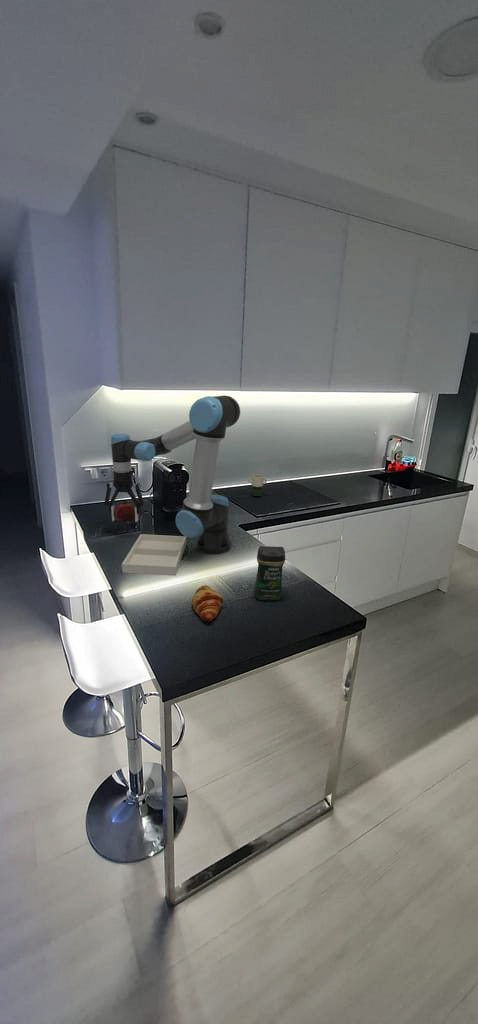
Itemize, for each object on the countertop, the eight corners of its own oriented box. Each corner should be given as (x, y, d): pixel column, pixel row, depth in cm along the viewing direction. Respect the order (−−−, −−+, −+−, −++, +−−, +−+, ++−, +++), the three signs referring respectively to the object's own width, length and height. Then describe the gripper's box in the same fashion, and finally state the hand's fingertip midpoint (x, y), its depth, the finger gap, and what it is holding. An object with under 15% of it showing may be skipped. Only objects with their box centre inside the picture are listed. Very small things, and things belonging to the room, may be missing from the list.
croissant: (196, 600, 150) (186, 582, 147) (222, 587, 150) (211, 569, 147) (200, 635, 130) (188, 615, 127) (229, 620, 130) (218, 600, 127)
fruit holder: (186, 543, 186) (186, 536, 185) (175, 575, 159) (175, 566, 158) (140, 541, 186) (140, 534, 185) (122, 572, 159) (121, 564, 158)
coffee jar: (254, 602, 144) (258, 552, 138) (253, 590, 151) (256, 542, 145) (283, 602, 145) (287, 552, 138) (280, 590, 152) (284, 542, 146)
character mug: (264, 494, 261) (266, 474, 257) (266, 498, 254) (267, 477, 250) (247, 494, 260) (248, 473, 256) (247, 497, 254) (249, 476, 249)
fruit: (131, 526, 183) (130, 504, 180) (111, 524, 185) (109, 502, 182) (140, 519, 192) (139, 498, 188) (120, 517, 193) (119, 496, 190)
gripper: (150, 469, 184) (152, 518, 191) (99, 467, 184) (103, 516, 191) (146, 473, 177) (148, 524, 184) (93, 471, 177) (97, 522, 184)
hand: (125, 520), depth 188 cm, fingers closed on fruit, 9 cm apart
